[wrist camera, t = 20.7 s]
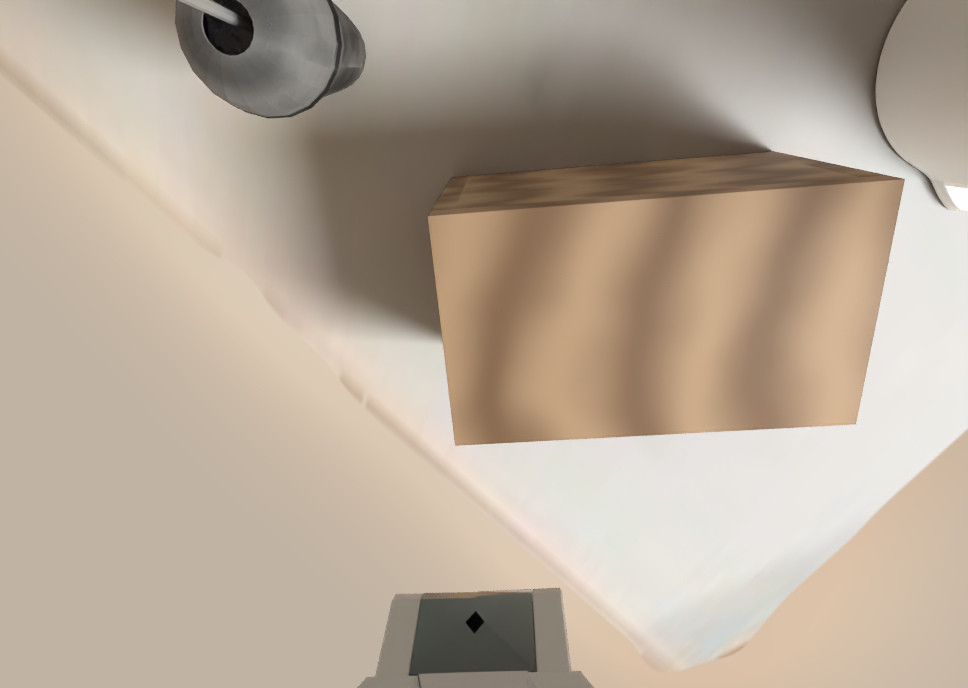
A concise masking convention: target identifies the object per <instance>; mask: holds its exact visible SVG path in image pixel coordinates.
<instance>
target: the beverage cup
mask: <svg viewBox="0 0 968 688" xmlns="http://www.w3.org/2000/svg"><path fill="white" fill-rule="evenodd" d="M175 24H176V29H177V33H178V37H179V41H180V46H181V49H182V51H183V53H184V55H185V56H186V58H187V60H188V62H189V64H190V66H191V68H192V70H193V71H194V73H195V74H196V75H197V76H198V77H199V78H200V79H201V80H202V81H203V83H204V84H205V85H206V86H207V87H208V88H209V89H210V90H211V91H212V92H213V93H214V94H215V95H217V96H219V97H220V98H222V99H223V100H225V101H227V102H228V103H230V104H231V105H233V106H235V107H236V108H238V109H241V110H243V111H245V112H247V113H251V114H254V115H258V116H262V117H265V118H284V117H292V116H295V115H297V114H299V113H301V112H304V111H306V110H308V109H310V108H312V107H313V106H314V105H315V104H316V103H317V102H318V101H319V100H320V99H321V98H322V97H324V96H327V95H330V94H332V93H335V92H338V91H340V90H342V89H345V88H347V87H348V86H350V85H352V84H353V83H354V82H355V81H356V80H357V79H358V78H359V76H360V74H361V72H362V70H363V68H364V64H365V58H366V53H365V45H364V42H363V39H362V37H361V34H360V32H359V31H358V29H357V28H356V27H355V25H354V24H353V23H352V21H351V20H350V19H349V18H348V17H347V16H346V15H345V14H344V13H343V12H342V11H341V10H340V9H339V8H338V7H337V6H336V5H335V4H334V3H333V2H332V0H176V17H175Z"/></svg>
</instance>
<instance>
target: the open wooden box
mask: <svg viewBox="0 0 968 688" xmlns="http://www.w3.org/2000/svg"><path fill="white" fill-rule="evenodd" d="M904 180H905V179H902V178H897V177H892V176H887V175H883V174H878V173H873V172H868V171H864V170H859V169H854V168H850V167H845V166H840V165H835V164H831V163H826V162H821V161H817V160H812V159H807V158H802V157H798V156H793V155H788V154H783V153H779V152H774V151H770V152H758V153H746V154H734V155H721V156H709V157H697V158H685V159H672V160H660V161H648V162H636V163H623V164H611V165H599V166H587V167H574V168H562V169H550V170H538V171H525V172H513V173H501V174H489V175H476V176H464V177H452V178H451V179H450V181H449V182H448V184H447V186H446V187H445V189H444V190H443V192H442V194H441V195H440V197H439V199H438V200H437V202H436V203H435V205H434V207H433V208H432V210H431V212H430V213H429V215H428V224H429V232H430V240H431V249H432V257H433V265H434V274H435V282H436V290H437V298H438V307H439V315H440V323H441V332H442V340H443V348H444V357H445V365H446V373H447V381H448V390H449V398H450V406H451V415H452V423H453V431H454V440H455V446H457V445H475V444H494V443H513V442H532V441H550V440H569V439H588V438H607V437H625V436H644V435H663V434H682V433H700V432H719V431H738V430H757V429H775V428H794V427H813V426H832V425H850V424H856V421H857V416H858V411H859V406H860V401H861V396H862V391H863V386H864V381H865V376H866V371H867V366H868V361H869V356H870V351H871V346H872V341H873V336H874V331H875V326H876V321H877V316H878V311H879V306H880V301H881V296H882V291H883V286H884V281H885V276H886V271H887V266H888V261H889V255H890V250H891V245H892V240H893V235H894V230H895V225H896V220H897V215H898V210H899V205H900V200H901V195H902V190H903V185H904Z"/></svg>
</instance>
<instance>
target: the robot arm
mask: <svg viewBox="0 0 968 688" xmlns="http://www.w3.org/2000/svg"><path fill="white" fill-rule="evenodd" d="M876 106H877V112H878V116H879V121H880V124H881V127H882V129H883V131H884V134H885V136H886V138H887V139H888V141H889V143H890V144H891V146H892V147H893V148H894V150H895V151H896V152H897V153H898V154H899V155H900V156H901V157H902V158H903V159H904V160H905V161H907V162H908V163H909V164H911V165H912V166H914V167H915V168H917V169H918V170H920V171H921V172H923V173H924V174H925V175H926V176H927V177H928V178H929V179H930V180H931V182H932V184H933V186H934V189H935V191H936V193H937V195H938V197H939V198H940V200H941V202H942V203H943V204H944V206H945V207H947V208H948V209H950V210H955V211H968V0H907V1H906V3H905V4H904V6H903V7H902V9H901V10H900V12H899V14H898V16H897V17H896V19H895V21H894V23H893V25H892V27H891V29H890V31H889V34H888V36H887V39H886V41H885V44H884V47H883V50H882V53H881V57H880V60H879V65H878V70H877V77H876ZM532 598H533V601H532ZM533 614H534V615H533ZM534 630H535V631H534ZM357 688H594V687H593V686H592V685H591V683H590V682H589V681H588V680H587V679H586V678H585V676H584V675H583V674H582V673H581V671H571V663H570V656H569V647H568V638H567V630H566V622H565V614H564V605H563V597H562V592H561V590H560V588H547V589H533V590H532V589H524V590H503V591H481V592H465V593H421V594H420V593H419V594H396V595H395V597H394V599H393V600H392V603H391V608H390V612H389V617H388V621H387V625H386V630H385V635H384V639H383V644H382V649H381V653H380V657H379V662H378V666H377V671H376V675H375V677H367V678H365V680H364V681H363V682H362V683H361V684H360V685H359V686H358V687H357Z"/></svg>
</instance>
